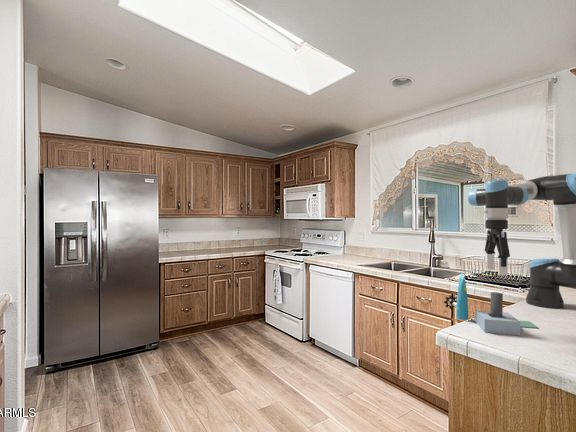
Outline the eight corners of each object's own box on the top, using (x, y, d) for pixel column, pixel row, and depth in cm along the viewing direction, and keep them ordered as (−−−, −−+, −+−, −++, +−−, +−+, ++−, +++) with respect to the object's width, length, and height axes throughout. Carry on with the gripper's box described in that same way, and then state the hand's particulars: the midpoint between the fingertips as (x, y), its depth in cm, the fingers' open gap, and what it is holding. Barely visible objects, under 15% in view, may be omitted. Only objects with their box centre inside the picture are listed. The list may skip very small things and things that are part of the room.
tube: (471, 321, 137) (471, 276, 137) (458, 320, 138) (458, 276, 138) (465, 316, 144) (465, 273, 144) (453, 315, 145) (453, 273, 145)
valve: (471, 316, 145) (457, 308, 157) (471, 301, 145) (456, 295, 157) (457, 316, 145) (443, 308, 157) (457, 301, 145) (443, 295, 157)
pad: (529, 322, 136) (529, 321, 136) (538, 328, 129) (538, 327, 129) (507, 320, 138) (507, 319, 138) (515, 326, 131) (515, 325, 131)
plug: (500, 327, 130) (500, 292, 130) (504, 330, 127) (504, 294, 127) (489, 326, 131) (489, 291, 131) (492, 329, 128) (492, 294, 128)
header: (507, 324, 133) (507, 312, 133) (520, 335, 122) (520, 321, 122) (475, 322, 136) (475, 310, 136) (484, 332, 125) (484, 319, 125)
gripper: (476, 218, 142) (476, 267, 142) (497, 219, 118) (496, 277, 118) (495, 219, 140) (495, 267, 140) (520, 219, 116) (520, 278, 116)
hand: (496, 272), depth 129 cm, fingers open, 13 cm apart
